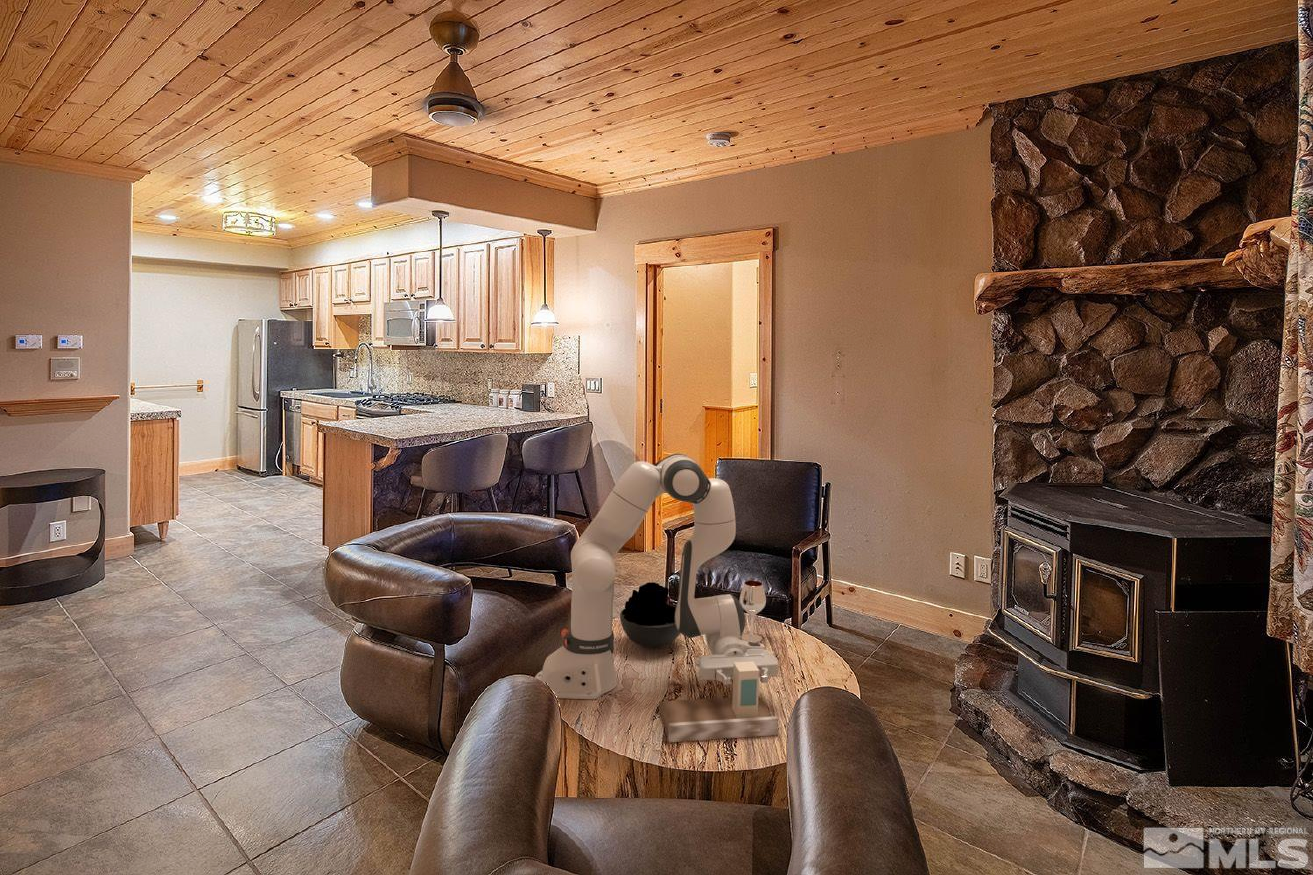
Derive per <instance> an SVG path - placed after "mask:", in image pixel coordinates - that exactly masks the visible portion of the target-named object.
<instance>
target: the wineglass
mask: <svg viewBox="0 0 1313 875" xmlns="http://www.w3.org/2000/svg"><path fill="white" fill-rule="evenodd" d="M741 588H742V589H741V591H740V596H739V602H740V603H741V605H742V608H743V610H744V612H746V613H747V614H749V616H750V631H749V633H745V634H742V635H741V636H740V640H744V641H747V642H752V643H759V642H761V641H762V640H763V639H762V637H761V635H758V634H754V618H755V616H756V615H757V614H759V613H760V612H762V610H763V609H764V608H765V607H766V603H767V597H766V593H765V589H764V588H765V587H764V583H763V582H762V581H758V580H746V581H744V582H743V586H742V587H741Z"/></svg>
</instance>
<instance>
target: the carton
mask: <svg viewBox="0 0 1313 875" xmlns="http://www.w3.org/2000/svg"><path fill="white" fill-rule="evenodd" d="M759 691H760V678H759V669H758V668H757V666H756V665H755V663H754V662H753V661H750V662H734V668H733V679H732V696H731V697H732V709H733V711H734V713H735V715H736V717H737V719H742V718H758V696H760V695H759V694H760V693H759Z"/></svg>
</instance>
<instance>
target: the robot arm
mask: <svg viewBox="0 0 1313 875" xmlns="http://www.w3.org/2000/svg"><path fill="white" fill-rule="evenodd" d="M666 493H667V495H669V496H670V497H671V498H673V499H674V500H677V501H680V502H684V503H691V505H692V509H693V522H694V523H693V524H694V525H693V531H692V534H691V536H690V538H689V539H688V540H687V541H686V542H684V545H683V547H682V553H681V562H680V569H679V570H680V572H679V579H678V581H679V582H678V592H677V599H676V601H677V602H676V606H675V607H676V611H675V624H676V627H677V630H678V631H679V632H680V634H681V635H683V636H684V637H686V638H688V639H693V638H696V637H700V636H703V635H704V637H705V642H706V646H707V648H708V650H709V653H710V654H705V655H701V656H699V657H698V658H695V659H694V660H693V662H694V664H695V666H696V667H698V673H699V677H700V679H701V680H704V681H719V682H720V683H722V684H723V685H724V686H729V685H731V680H733V668H734V662H750V661H753V662H754V663H755V665H756V666H757V668H758V669H759V682H761V684H768V682H769V678H776V677H778V675H779V672H780V663H779V660H778V659H777V658H776V656H775V655H774V654H773V653H771V652H770V651H769V650H767V649H766V646H765V645H764V643H759V642H756V643H752V642H747V641H744V640H742V639H741V637H742V635H743V633H744V630H745V627H746V616H745V610H744V609H743V608H742V605H741V603H740V600H738V598H737V597H736V596H734V595H733V594H731V593H730V594H729V593H727V594H719V595H718V594H717V595H713V596H707V597H698V598H695V594H696V593H695V591H696V580H697V572H698V570H699V568H700V567H701V566H702V565H703V564H705V563H706V562H707V561H709V560H710V559H712V558H713V557H716V556H717V555H720V554H721V553H724V552H725V550H727V549H728V548H729V547H730V546H731V545H732V544H733V542H734V541H735V539H736V535H737V534H736V533H737V532H736V531H737V528H736V527H737V524H736V521H737V520H736V512H735V506H734V500H733V496H732V492H731V489H730V485H729V484H728V483H727V482H726V481H725V480H723V479H721V478H716V477H710V478H708V476H707V475H706V473H705V472H704V471H703V469H702V468H701V466H700V465H699V463H698V462H697V461H695V460H694V459H693V458H692V457H689V456H687V455H686V454H684V453H683V454H682V453H673V454H670V455H667V456H666V457H664V458H663V459H661V460H659V461H657V462H655V463H654V464H653V463H650V462H647V461H645V460H643V461H640V460H639V461H635V462H633V463H631V464H630V466H629V467H628V468H627V469H626V470H625V472H624V473H623V474H622V475H621V477H620V478H619V479H618V480H617V482H616V483H615V485H614V486H613V488H612V490H611V491H610V493H609V494H608V496H607V498H606V500H605V501H604V503H603V505H602V506H601V507H600V510H599V511H598V513H597V514H596V516H595V517H594V518H593V519H592V521H591V522H590V523H589V525H587V527H586V529H585V530H584V531H583V533H582V534H580V537H579V538H578V539H577V540H576V542H575V543H574V545H573V547H572V549H571V551H570V561H571V571H572V573H571V575H572V579H571V580H572V581H571V582H572V583H571V584H572V585H571V606H570V608H571V609H570V631H569V630H568V629H567V628H564V629H562V630H561V637H562V642H563V645H561V646H560V647H559V648H557V650H556V649H555V651H554V652H552V653H551V654H549V655H548V656H547V657H546V658H545V660H544V664H543V666H542V670H540V671H539V672H538V673H537V674H536V675H535V676H534V679H535V678H537V679H539V680H541V681H542V682H546V683H548V686H549V687H550V688H551V689H552V690H553V691H554V692H555V695H556V696H557V698H556V699H573V700H579V699H580V700H596V699H598V698H600V697H601V696H602V695H603V694H606V693H608V692H610V691H612V690H614V689H615V688H616V687H617V686H618V683H619V679H618V677H617V674H616V673H617V672H616V669H615V662H614V650H615V634H614V631H613V612H614V610H613V608H614V607H613V605H614V596H615V595H614V594H615V584H616V583H615V582H616V565H615V561H614V560H615V557H616V555H617V554H618V553H619V551H620V550H621V549H622V548H623V547H624V546H625V544H626V543H627V542H628V541H629V540H630V539H631V538H632V537H633V536H634V535H635V534H636V532H637V530H638V529H639V527H640V525H641V524H642V522H643V520H644V519H645V517H646V516H647V514H648V512H649V511H650V509H651V507H652V505H653V503H654V501H656V500H657V498H658V497H659V496H661V495H664V494H666Z"/></svg>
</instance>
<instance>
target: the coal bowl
mask: <svg viewBox="0 0 1313 875" xmlns="http://www.w3.org/2000/svg"><path fill="white" fill-rule="evenodd" d="M669 591H670V589H669V588H668V587H666V586H665V587H664V586H663V585H661V584H659V583H657V582H654V581H652V582H651V581H648V582H647V583H645V584H643V585H640V586H638V591H637V590H636V589H633V590H632V594H631V595H630V597H629V598H628V600H626V601H625V602H624V608H623V609H622V610H621V611H620V613H619V618H620V624H621V627H622V630H623V631H624V633H625V635H626V636H627V638H628V639H629V640H630V641H632V642H633V643H634V644H636V645H638V646H640V647H642V648H645V649H650V650H651V649H652V650H653V649H654V650H655V649H661V648H665V647H666V646H668V645H670V644H672V643H673V642H675V641H676V639H677V638H679V636H680V634H681V633H680V632H679V631H678V630H677V627H676V624H675V611H676V606H675V605H671V604H667V601H668V596H669V594H670V593H669Z"/></svg>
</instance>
